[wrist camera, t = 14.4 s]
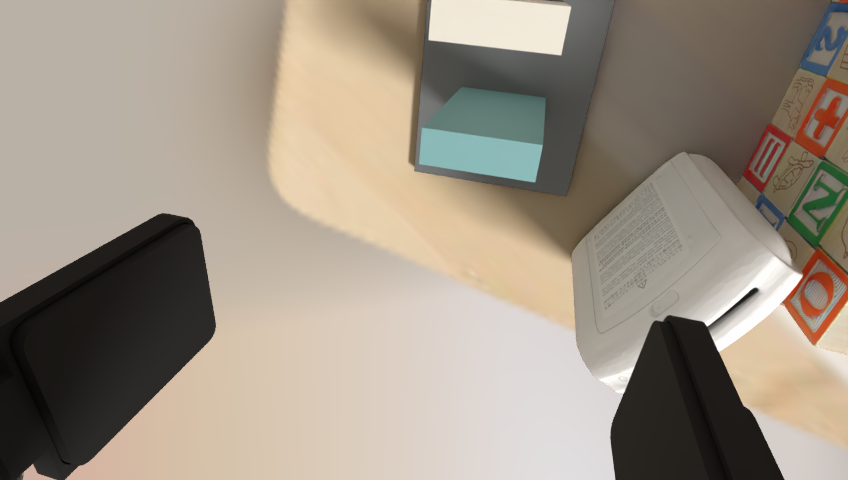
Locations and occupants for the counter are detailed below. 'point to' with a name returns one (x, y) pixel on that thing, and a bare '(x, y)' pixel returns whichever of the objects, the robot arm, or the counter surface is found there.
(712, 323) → the white rounded slab
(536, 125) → the domino
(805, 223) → the stack of blocks
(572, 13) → the domino mat
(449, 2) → the domino
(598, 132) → the counter surface
